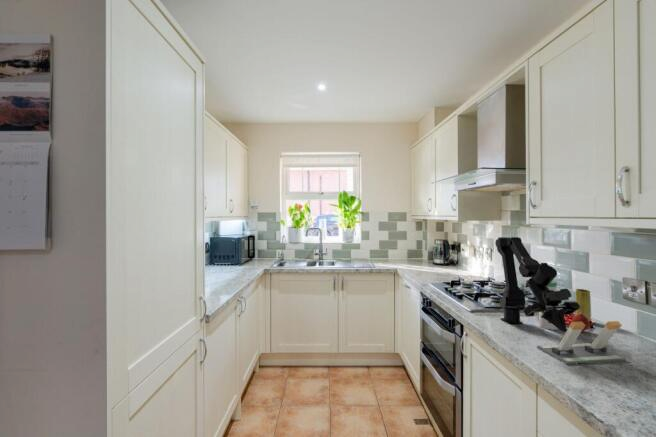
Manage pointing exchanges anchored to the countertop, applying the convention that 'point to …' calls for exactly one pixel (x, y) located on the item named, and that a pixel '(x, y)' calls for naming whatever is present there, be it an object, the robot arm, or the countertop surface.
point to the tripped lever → (570, 336)
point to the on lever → (605, 335)
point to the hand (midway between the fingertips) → (564, 331)
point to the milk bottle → (542, 321)
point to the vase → (583, 302)
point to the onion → (581, 320)
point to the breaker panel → (581, 354)
